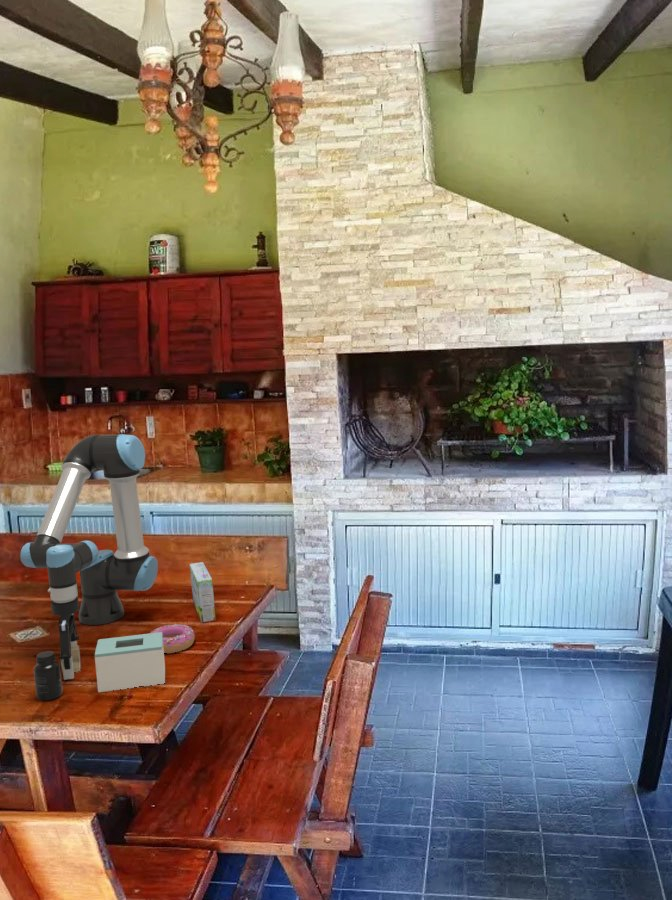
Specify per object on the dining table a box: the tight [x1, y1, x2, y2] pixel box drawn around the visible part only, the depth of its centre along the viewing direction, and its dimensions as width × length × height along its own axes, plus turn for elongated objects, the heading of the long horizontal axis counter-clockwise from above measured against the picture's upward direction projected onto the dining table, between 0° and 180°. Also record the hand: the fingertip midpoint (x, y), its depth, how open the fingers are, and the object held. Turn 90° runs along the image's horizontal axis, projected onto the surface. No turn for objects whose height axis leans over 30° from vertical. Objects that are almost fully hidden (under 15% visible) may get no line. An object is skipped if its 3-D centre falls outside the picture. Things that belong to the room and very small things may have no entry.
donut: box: [150, 623, 196, 654], centre depth 245 cm, size 14×14×5 cm
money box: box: [94, 632, 166, 693], centre depth 221 cm, size 11×18×11 cm, turn 102°
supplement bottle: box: [33, 650, 64, 702], centre depth 213 cm, size 7×7×12 cm
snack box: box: [189, 561, 217, 624], centre depth 272 cm, size 21×6×15 cm, turn 18°
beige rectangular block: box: [60, 645, 82, 675], centre depth 229 cm, size 3×5×7 cm, turn 102°
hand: (71, 670), depth 230 cm, fingers open, 11 cm apart
